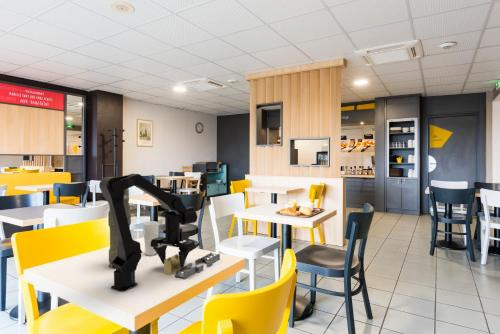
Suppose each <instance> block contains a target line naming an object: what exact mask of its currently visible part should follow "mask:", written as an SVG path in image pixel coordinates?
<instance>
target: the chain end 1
mask: <svg viewBox="0 0 500 334" xmlns="http://www.w3.org/2000/svg"><path fill="white" fill-rule="evenodd" d="M203 271H204V265H203V264H201V265H200V266H199V265H195V266H193V263H192V262H189V263H188V264H184V266H183V267H182V268H180V269H178V270H176V271H175V273H174V277H175V278H183V280H186V279H188V278H190V277H191V276H193V275H195V274H196V273H198V274H199V273H202V272H203Z"/></svg>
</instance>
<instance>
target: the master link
mask: <svg viewBox="0 0 500 334" xmlns="http://www.w3.org/2000/svg"><path fill="white" fill-rule="evenodd" d="M180 268H182V267H181V265H180V260H179V254H175V255H172V256H170V257H166V259H165V260H164V264H163V269H164V271H163V273H164V274H165V275H170V276H172V275H175V271H176V270H178V269H180Z"/></svg>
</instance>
